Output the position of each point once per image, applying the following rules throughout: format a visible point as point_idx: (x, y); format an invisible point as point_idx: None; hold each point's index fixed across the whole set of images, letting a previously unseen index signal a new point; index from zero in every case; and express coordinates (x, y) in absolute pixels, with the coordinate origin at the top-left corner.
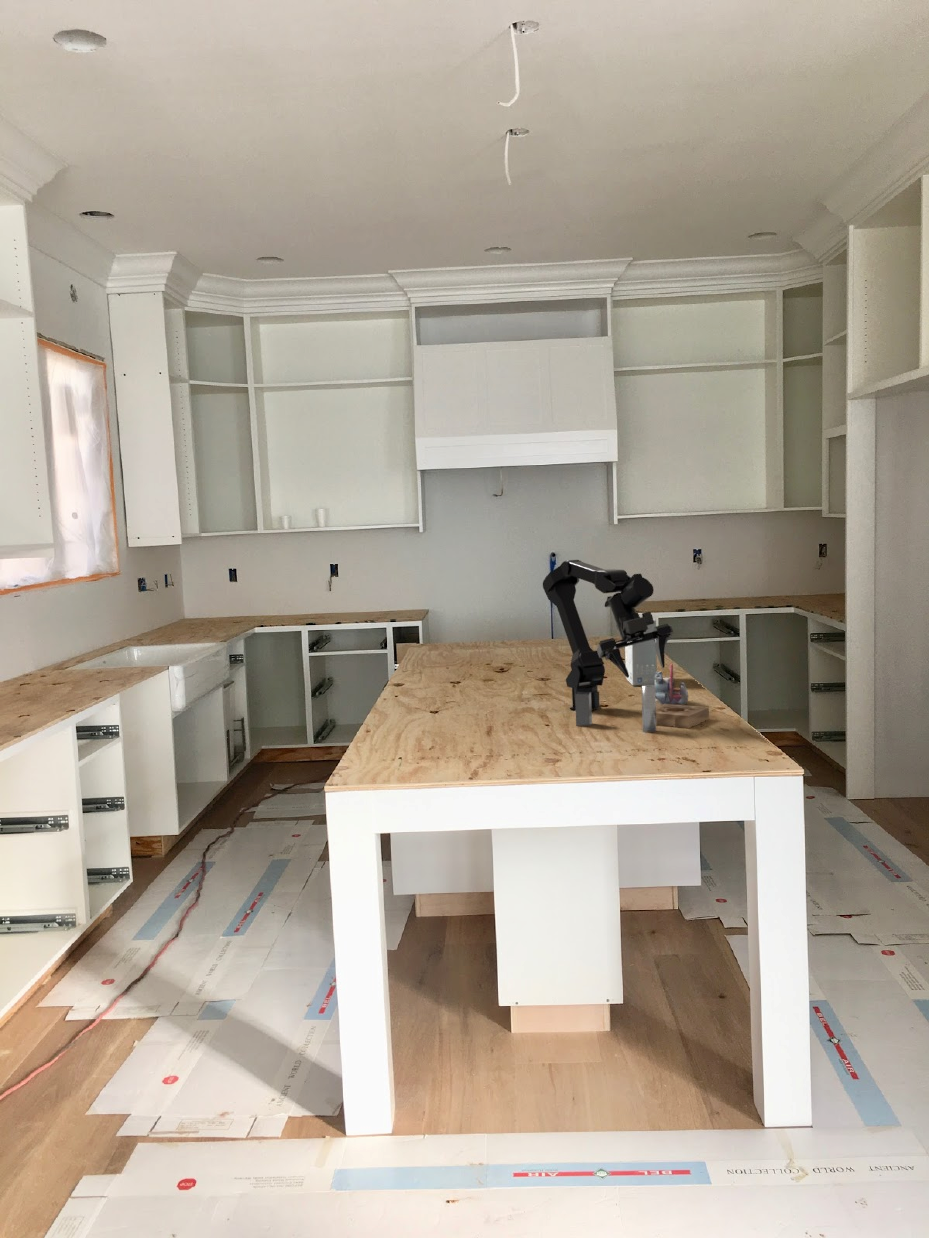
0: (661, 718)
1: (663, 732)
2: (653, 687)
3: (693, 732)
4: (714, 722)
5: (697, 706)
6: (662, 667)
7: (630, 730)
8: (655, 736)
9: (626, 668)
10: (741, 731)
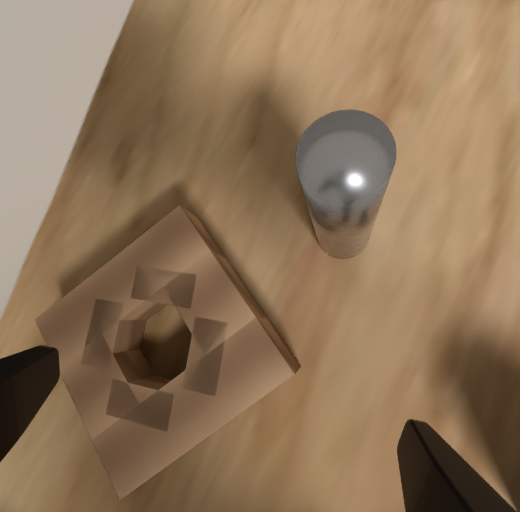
0: (249, 300)
1: None
2: (326, 117)
3: (219, 157)
4: (86, 264)
5: None
6: (56, 371)
7: (405, 280)
8: None
9: (450, 482)
10: (99, 119)
